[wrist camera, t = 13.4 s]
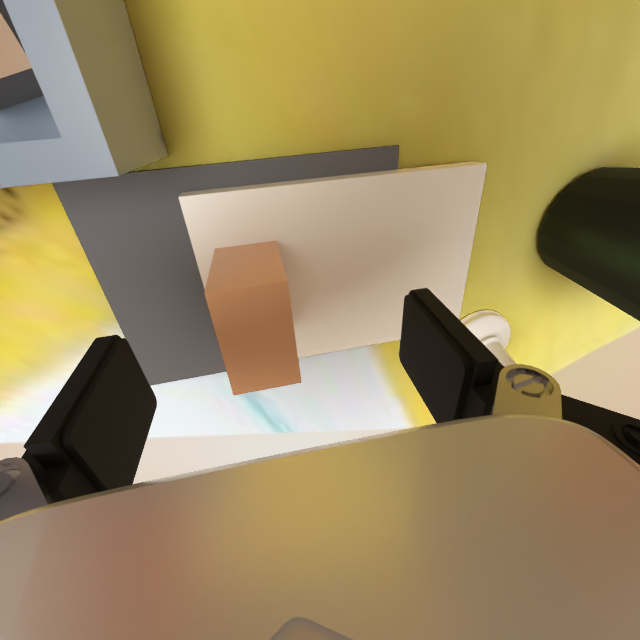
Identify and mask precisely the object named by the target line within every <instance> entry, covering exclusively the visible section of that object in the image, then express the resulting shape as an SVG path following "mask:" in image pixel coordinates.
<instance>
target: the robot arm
mask: <svg viewBox="0 0 640 640" xmlns="http://www.w3.org/2000/svg"><path fill="white" fill-rule="evenodd" d="M399 357H400V361H401V364H402V365H403V367H404V369H405V370H406V372H407V374H408V376H409V377H410V379H411V381H412V382H413V384H414V386H415V387H416V389H417V391H418V392H419V394H420V396H421V397H422V399H423V401H424V402H425V404H426V406H427V407H428V409H429V411H430V413H431V414H432V416H433V418H434V419H435V421H436V423H437V424H431V425H425V426H420V427H414V428H409V429H404V430H399V431H394V432H389V433H384V434H379V435H373V436H368V437H363V438H358V439H353V440H348V441H343V442H338V443H333V444H328V445H323V446H318V447H313V448H308V449H303V450H298V451H293V452H288V453H283V454H278V455H273V456H268V457H263V458H258V459H254V460H249V461H244V462H239V463H234V464H229V465H224V466H220V467H215V468H210V469H205V470H200V471H195V472H190V473H185V474H181V475H176V476H171V477H166V478H162V479H156V480H152V481H147V482H142V483H137V484H133V481H134V477H135V474H136V471H137V468H138V464H139V461H140V458H141V454H142V452H143V448H144V445H145V442H146V439H147V436H148V432H149V429H150V426H151V423H152V419H153V416H154V413H155V410H156V406H157V401H156V397H155V395H154V393H153V391H152V389H151V387H150V385H149V383H148V381H147V379H146V377H145V375H144V373H143V371H142V369H141V367H140V365H139V363H138V361H137V359H136V357H135V355H134V353H133V351H132V349H131V347H130V345H129V343H128V341H127V340H126V339H125V338H123V339H121V337H120V336H118V335H112V336H106V337H99V338H96V339H95V340H94V342H93V343H92V345H91V346H90V348H89V349H88V351H87V352H86V354H85V355H84V357H83V358H82V360H81V361H80V363H79V364H78V366H77V367H76V369H75V370H74V372H73V373H72V375H71V376H70V378H69V379H68V381H67V382H66V384H65V385H64V387H63V388H62V390H61V391H60V393H59V394H58V396H57V397H56V399H55V400H54V402H53V403H52V405H51V406H50V408H49V409H48V411H47V412H46V414H45V415H44V417H43V418H42V420H41V421H40V423H39V424H38V426H37V427H36V429H35V430H34V432H33V433H32V435H31V436H30V437H29V439H28V440H27V442H26V443H25V445H24V448H25V449H26V451H25V453H24V455H23V456H22V458H17V457H15V458H7V459H4V460H1V461H0V640H640V420H639V419H636V418H632V417H629V416H626V415H623V414H620V413H617V412H614V411H611V410H608V409H605V408H602V407H598V406H595V405H592V404H589V403H586V402H583V401H580V400H577V399H573V398H571V397H567V396H564V395H561V389H560V386H559V384H558V383H557V381H556V380H555V379H554V378H553V377H552V376H551V375H549V374H548V373H546V372H544V371H542V370H541V369H538V368H535V367H532V366H529V365H523V364H513V365H509V366H506V367H504V366H503V365H502V364H501V363H500V362H499V361H498V360H499V359H498V358H497V357H496V356H495V355H494V354H493V353H492V352H491V351H490V350H489V349H488V348H487V347H486V346H485V345H484V344H483V343H482V342H481V341H480V340H479V339H478V338H477V337H476V336H475V335H474V334H473V333H472V332H471V331H470V330H469V329H468V328H467V327H466V326H465V325H464V324H463V323H462V322H461V321H460V320H459V319H458V318H457V317H456V316H455V315H454V314H453V313H452V312H451V311H450V310H449V309H448V308H447V307H446V306H445V305H444V304H443V303H442V302H441V301H440V300H439V299H438V298H437V297H436V296H435V295H434V294H433V293H432V292H431V291H430V290H429V289H428V288H422V289H415V290H411V291H410V292H409V295H405V297H404V306H403V317H402V329H401V340H400V352H399ZM132 484H133V485H132Z"/></svg>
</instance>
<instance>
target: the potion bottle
mask: <svg viewBox="0 0 640 640" xmlns="http://www.w3.org/2000/svg"><path fill="white" fill-rule="evenodd" d="M539 253H540V255H541V257H542V259H543V261H544V263H545V264H546V265H547V266H549V267H551V268H552V269H554V270H556V271H557V272H559V273H561V274H562V275H564V276H566V277H567V278H569V279H571V280H572V281H574V282H576V283H577V284H579V285H581V286H582V287H584V288H586V289H587V290H589V291H591V292H592V293H594V294H596V295H597V296H599V297H601V298H602V299H604V300H606V301H607V302H609V303H611V304H612V305H614V306H616V307H617V308H619V309H621V310H622V311H624V312H626V313H627V314H629V315H631V316H632V317H634V318H636V319H637V320H639V321H640V168H606V167H602V168H600V169H598V170H595V171H593V172H590V173H588V174H585V175H583V176H581V177H580V178H579V179H577V180H576V181H575V182H574V183H573V184H571V185H570V186H569V187H568V188H566V189H565V190H564V191H563V192H562V193H560V195H559V196H558V197H557V199H556V200H555V201H554V203H553V204H552V206H551V207H550V208H549V210H548V211H547V213H546V215H545V218H544V220H543V223H542V225H541V228H540V231H539Z"/></svg>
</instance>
